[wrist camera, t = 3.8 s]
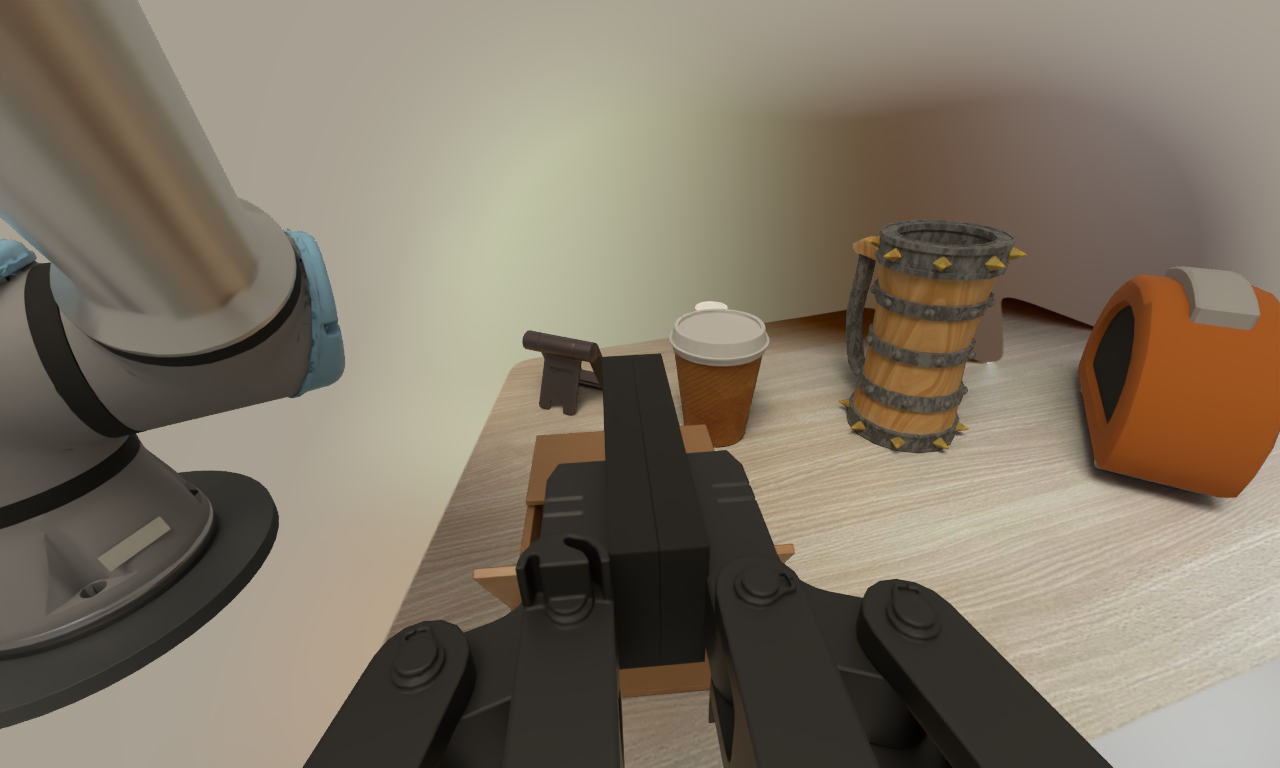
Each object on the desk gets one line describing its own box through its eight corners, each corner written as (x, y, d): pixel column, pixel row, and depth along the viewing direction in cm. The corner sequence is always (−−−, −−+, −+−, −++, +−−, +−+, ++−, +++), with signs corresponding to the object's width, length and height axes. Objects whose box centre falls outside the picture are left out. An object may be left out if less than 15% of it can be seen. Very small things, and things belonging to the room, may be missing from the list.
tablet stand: (623, 388, 65) (620, 324, 61) (589, 420, 59) (583, 352, 55) (562, 374, 69) (555, 313, 64) (525, 404, 62) (514, 338, 58)
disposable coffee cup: (701, 468, 51) (705, 355, 45) (653, 420, 59) (651, 318, 53) (779, 439, 55) (792, 332, 49) (725, 398, 62) (730, 300, 56)
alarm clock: (1071, 376, 64) (1129, 237, 56) (1169, 395, 60) (1247, 246, 52) (1089, 488, 47) (1177, 310, 39) (1229, 525, 43) (1360, 333, 35)
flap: (793, 543, 22) (795, 553, 22) (757, 579, 28) (758, 587, 28) (473, 568, 21) (472, 578, 21) (509, 599, 27) (509, 607, 27)
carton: (702, 514, 46) (706, 423, 41) (746, 686, 33) (758, 580, 28) (549, 526, 45) (536, 434, 40) (531, 706, 32) (508, 601, 27)
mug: (892, 473, 50) (946, 261, 40) (789, 388, 64) (810, 216, 54) (998, 443, 53) (1071, 241, 43) (878, 369, 67) (912, 204, 58)
